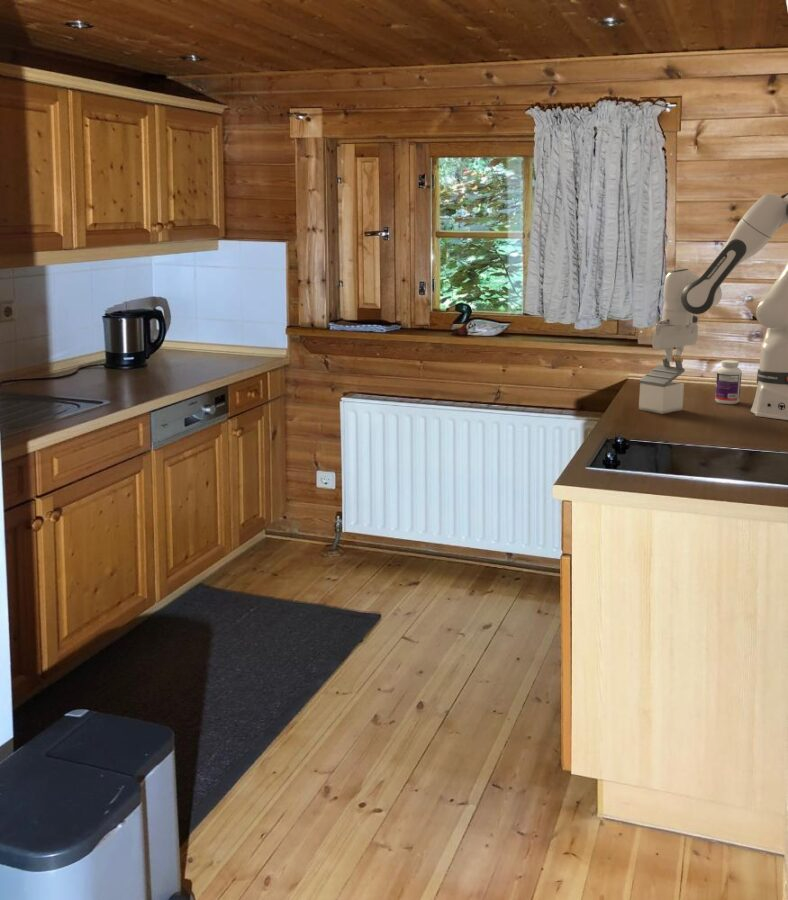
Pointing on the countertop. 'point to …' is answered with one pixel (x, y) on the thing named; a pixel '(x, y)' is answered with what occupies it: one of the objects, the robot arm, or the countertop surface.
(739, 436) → the countertop surface
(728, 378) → the pill bottle
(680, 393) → the tub
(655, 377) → the lid
